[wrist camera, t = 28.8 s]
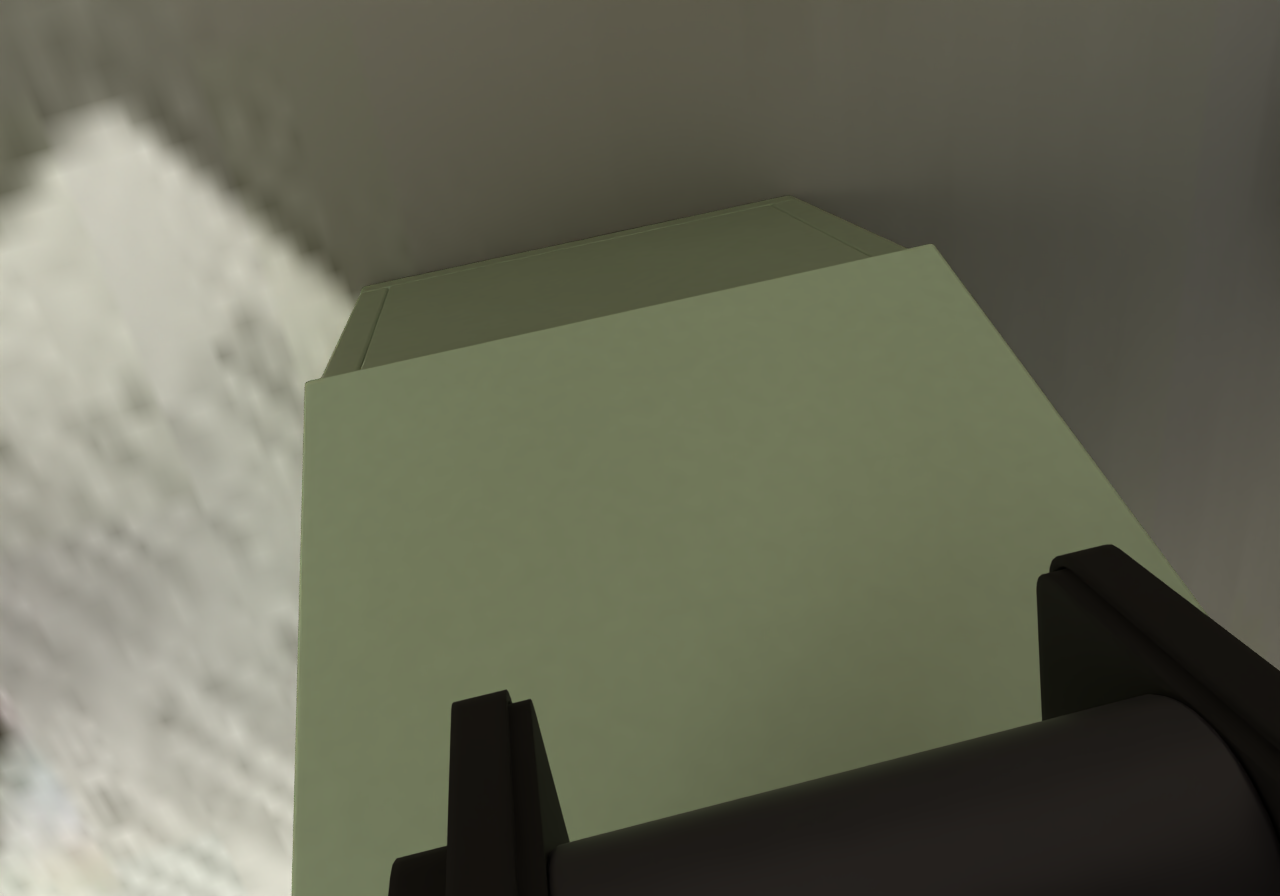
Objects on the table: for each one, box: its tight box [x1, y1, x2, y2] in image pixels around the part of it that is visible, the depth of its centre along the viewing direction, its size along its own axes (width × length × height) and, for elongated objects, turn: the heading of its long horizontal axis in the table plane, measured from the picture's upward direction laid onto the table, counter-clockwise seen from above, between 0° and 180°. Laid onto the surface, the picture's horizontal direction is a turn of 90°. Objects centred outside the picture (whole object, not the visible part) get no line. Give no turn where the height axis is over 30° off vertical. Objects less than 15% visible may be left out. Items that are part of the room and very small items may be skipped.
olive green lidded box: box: [321, 195, 907, 378], centre depth 27 cm, size 14×12×9 cm
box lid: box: [292, 244, 1280, 896], centre depth 13 cm, size 15×12×6 cm
